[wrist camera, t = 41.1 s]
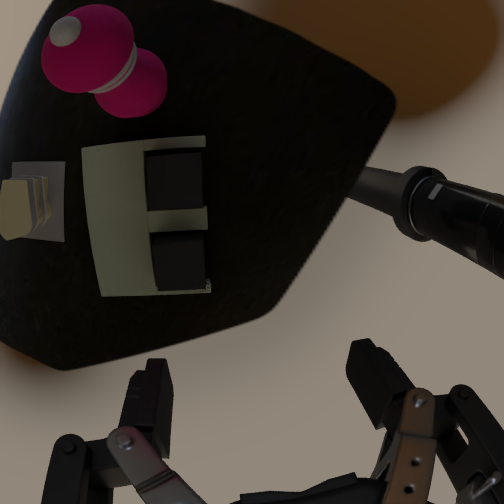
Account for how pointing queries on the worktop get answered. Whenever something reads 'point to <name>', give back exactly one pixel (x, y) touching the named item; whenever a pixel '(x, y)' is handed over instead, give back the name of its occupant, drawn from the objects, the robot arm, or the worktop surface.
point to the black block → (179, 261)
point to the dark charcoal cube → (175, 181)
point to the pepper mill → (104, 62)
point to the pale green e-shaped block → (131, 215)
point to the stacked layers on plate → (33, 201)
